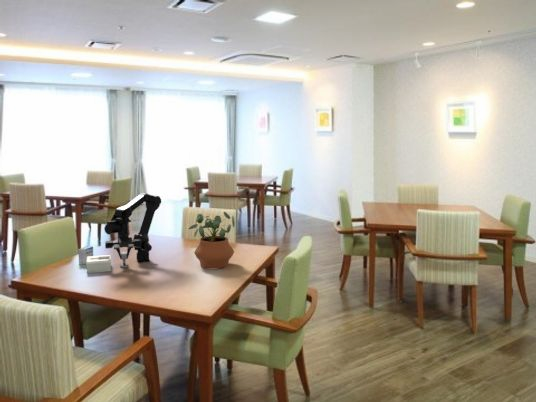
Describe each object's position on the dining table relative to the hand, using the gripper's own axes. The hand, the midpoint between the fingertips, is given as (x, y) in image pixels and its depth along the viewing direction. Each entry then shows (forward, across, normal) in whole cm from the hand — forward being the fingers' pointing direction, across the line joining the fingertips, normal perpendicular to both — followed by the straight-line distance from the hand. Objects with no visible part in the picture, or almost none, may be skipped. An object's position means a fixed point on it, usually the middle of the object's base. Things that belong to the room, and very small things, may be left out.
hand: (124, 258), depth 246 cm
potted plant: (+5, +46, -10) cm, 47 cm away
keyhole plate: (+4, -13, 0) cm, 14 cm away
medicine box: (+5, -20, +16) cm, 26 cm away
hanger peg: (+4, 0, 0) cm, 4 cm away
